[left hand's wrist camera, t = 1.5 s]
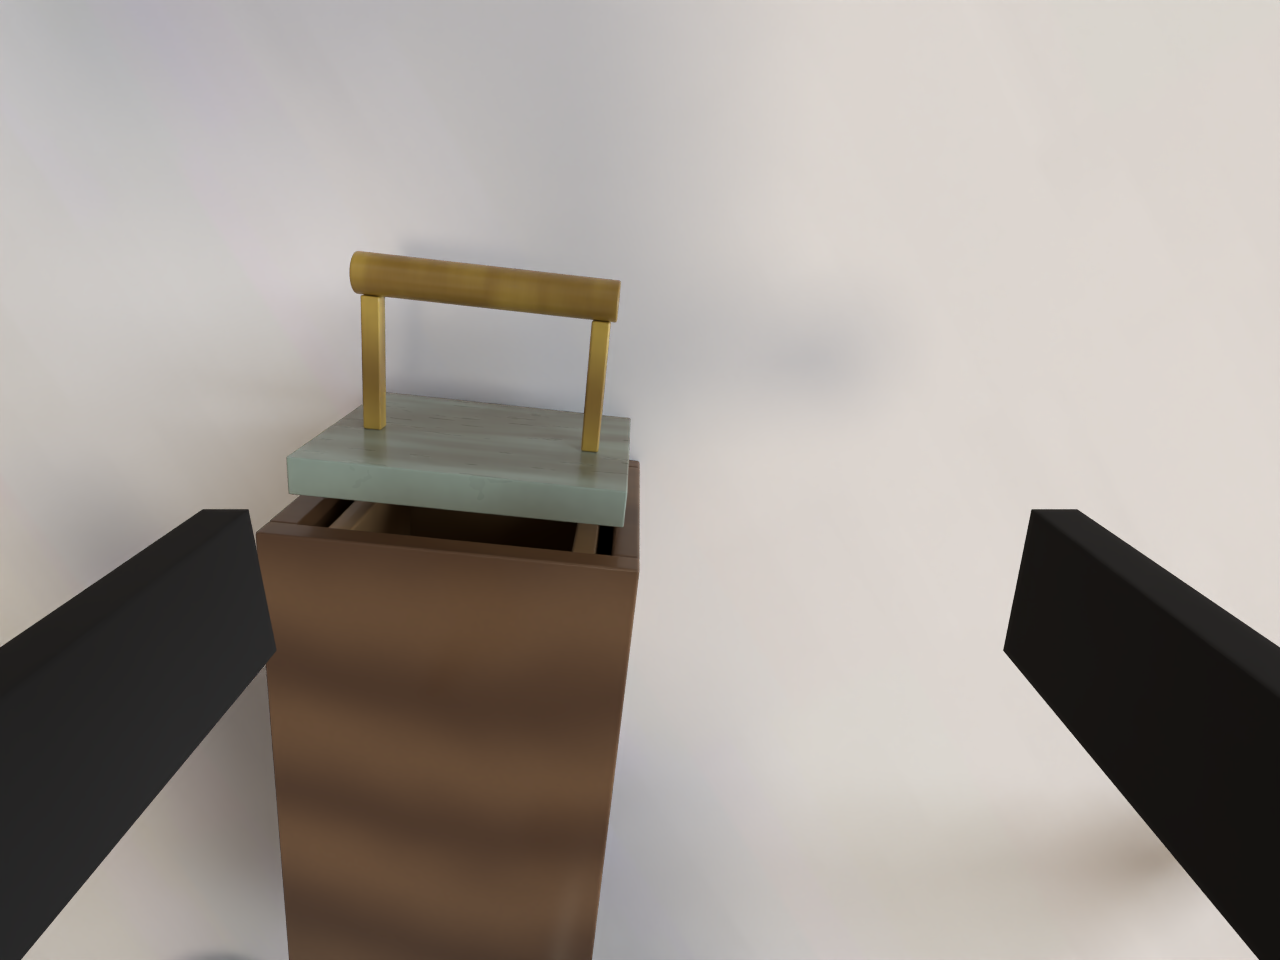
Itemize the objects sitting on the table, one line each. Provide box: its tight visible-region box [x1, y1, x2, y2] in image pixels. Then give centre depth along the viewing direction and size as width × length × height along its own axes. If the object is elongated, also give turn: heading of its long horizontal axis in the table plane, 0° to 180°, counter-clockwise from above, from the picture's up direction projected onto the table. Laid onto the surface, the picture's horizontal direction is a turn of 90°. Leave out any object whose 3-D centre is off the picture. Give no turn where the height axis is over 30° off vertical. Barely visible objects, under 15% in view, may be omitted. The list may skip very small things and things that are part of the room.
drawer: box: [287, 251, 631, 554], centre depth 28 cm, size 25×10×8 cm, turn 174°
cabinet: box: [256, 460, 640, 960], centre depth 30 cm, size 20×11×10 cm, turn 174°
